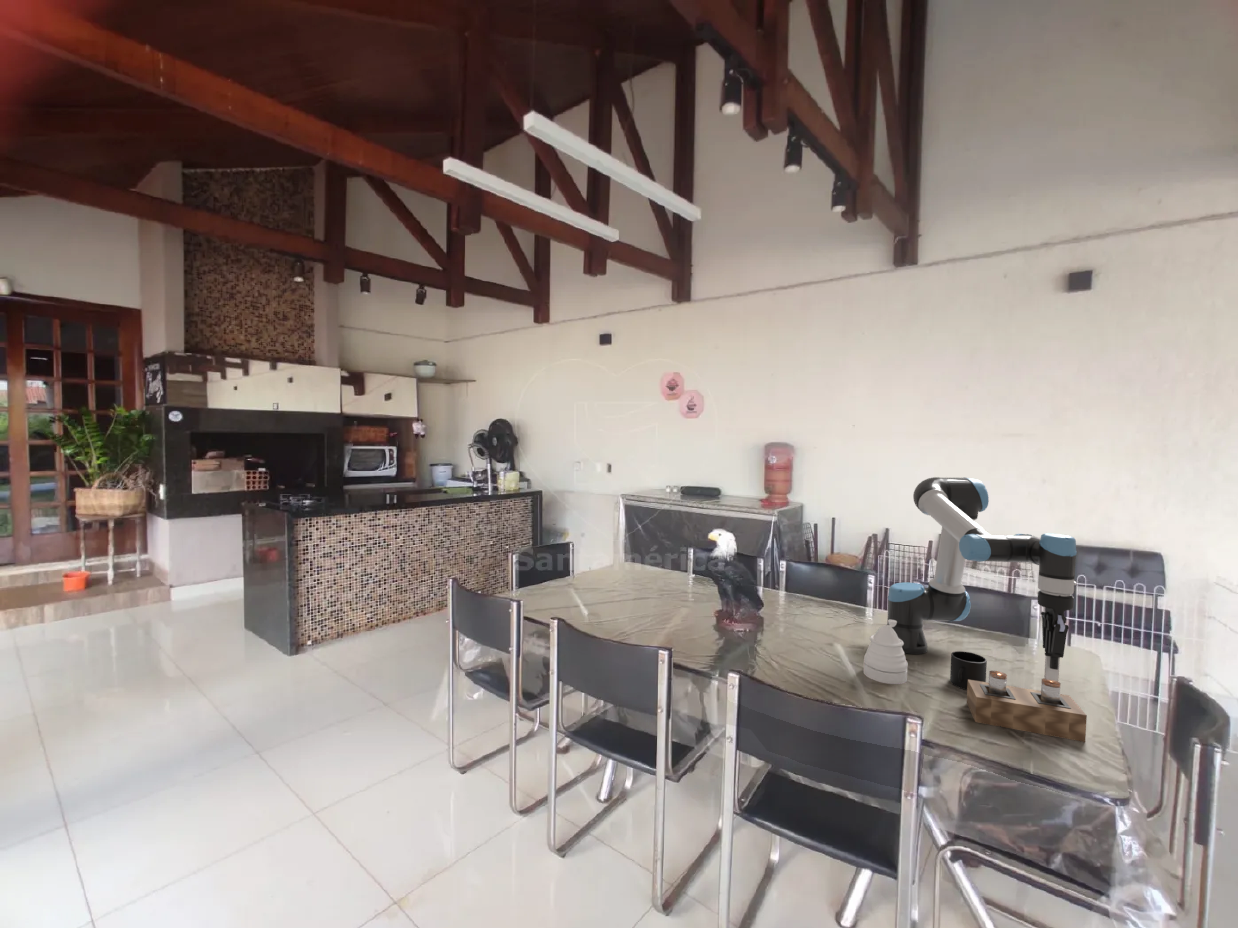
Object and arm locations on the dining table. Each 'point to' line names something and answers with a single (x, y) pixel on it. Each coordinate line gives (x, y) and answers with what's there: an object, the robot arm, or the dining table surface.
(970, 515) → the robot arm
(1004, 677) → the peg
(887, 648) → the honey pot
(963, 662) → the mug
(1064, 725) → the socket block
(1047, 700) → the peg
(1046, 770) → the dining table surface
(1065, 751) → the dining table surface
